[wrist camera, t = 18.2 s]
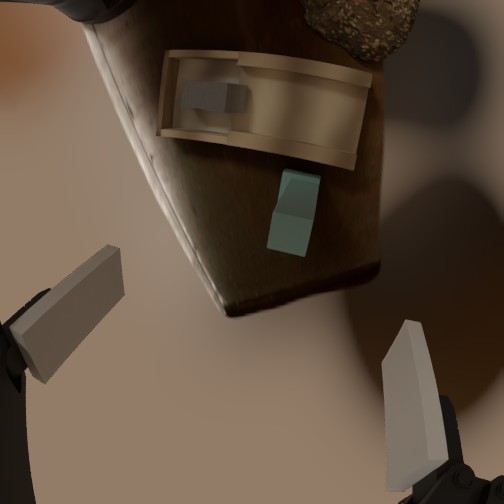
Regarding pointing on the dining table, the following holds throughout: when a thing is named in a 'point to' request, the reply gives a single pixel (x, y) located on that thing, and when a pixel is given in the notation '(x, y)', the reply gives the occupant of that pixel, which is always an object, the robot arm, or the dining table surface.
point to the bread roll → (363, 24)
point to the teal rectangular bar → (294, 212)
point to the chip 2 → (225, 97)
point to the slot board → (269, 104)
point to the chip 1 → (193, 94)
